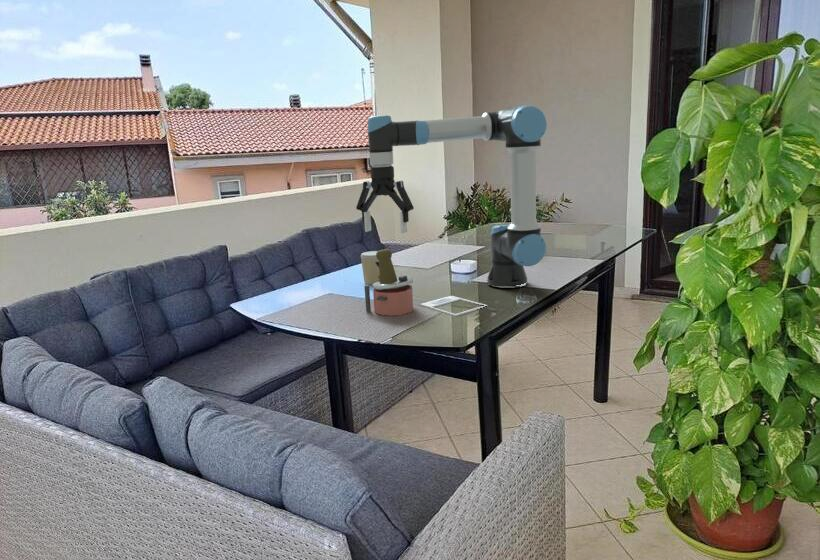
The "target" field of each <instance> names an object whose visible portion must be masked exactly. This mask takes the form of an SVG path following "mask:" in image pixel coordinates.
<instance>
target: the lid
mask: <svg viewBox="0 0 820 560" xmlns="http://www.w3.org/2000/svg"><path fill="white" fill-rule="evenodd" d="M396 277H397V276H396ZM412 283H414V279H413V277H411V276H408V275H401V276H398V277H397V281H396V282H393V283H388V284H380V281H379V282H376V283H374V284H372V290H373V289H376V290H385V289H393V288H398V287H402V286H406V285H411V284H412Z"/></svg>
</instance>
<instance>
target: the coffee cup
mask: <svg viewBox="0 0 820 560" xmlns="http://www.w3.org/2000/svg"><path fill="white" fill-rule="evenodd" d="M378 251H379V250H371V251H365V252H362V253H361V254H360V259H361V260H360V261H361V267H362V274H363V275H362V277H363V281H364V284H366V285H373V284H374V283H376V282H379V279H380V277H379V260H378V259H377V257H376V253H377V252H378Z"/></svg>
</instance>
